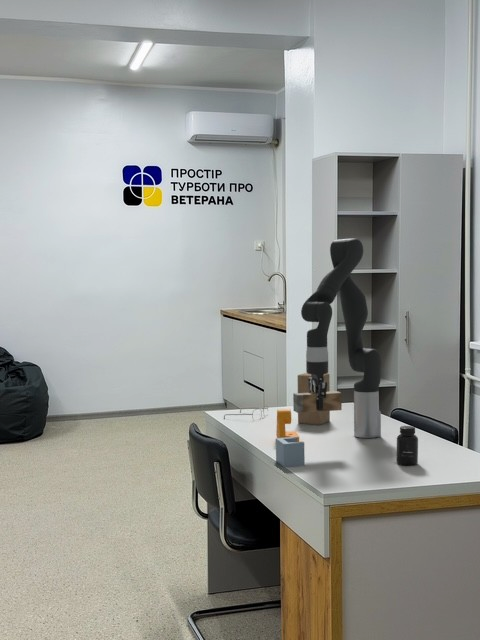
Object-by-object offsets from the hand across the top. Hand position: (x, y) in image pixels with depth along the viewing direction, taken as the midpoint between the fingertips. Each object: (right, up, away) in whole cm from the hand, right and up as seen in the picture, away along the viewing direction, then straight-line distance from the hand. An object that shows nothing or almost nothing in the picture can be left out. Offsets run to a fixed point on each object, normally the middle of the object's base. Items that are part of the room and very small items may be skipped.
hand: (317, 408), depth 280 cm
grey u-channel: (-10, -16, -13) cm, 23 cm away
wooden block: (+4, -12, +56) cm, 57 cm away
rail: (0, -1, 0) cm, 1 cm away
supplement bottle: (+28, -16, -16) cm, 36 cm away
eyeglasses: (-23, -12, +71) cm, 76 cm away
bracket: (-9, -14, +20) cm, 26 cm away
